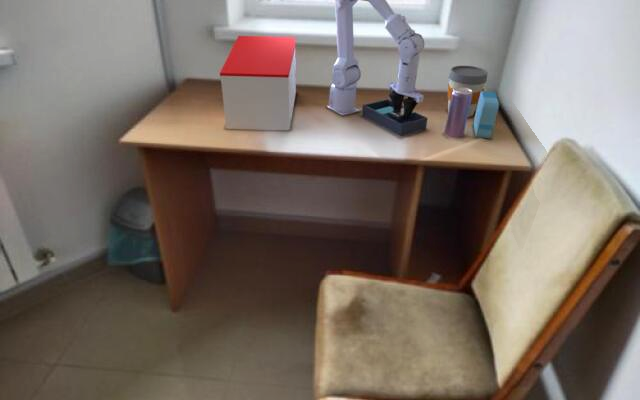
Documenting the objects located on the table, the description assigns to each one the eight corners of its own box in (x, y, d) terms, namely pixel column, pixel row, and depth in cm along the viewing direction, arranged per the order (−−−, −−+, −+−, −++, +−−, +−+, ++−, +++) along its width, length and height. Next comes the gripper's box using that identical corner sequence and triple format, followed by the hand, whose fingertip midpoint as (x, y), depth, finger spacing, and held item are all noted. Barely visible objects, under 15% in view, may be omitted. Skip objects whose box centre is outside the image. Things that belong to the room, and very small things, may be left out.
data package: (490, 140, 139) (499, 104, 133) (475, 138, 140) (484, 102, 133) (486, 125, 149) (495, 91, 142) (473, 123, 150) (481, 89, 143)
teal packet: (373, 117, 151) (374, 110, 150) (389, 113, 154) (389, 106, 153) (381, 122, 148) (382, 114, 147) (397, 117, 152) (398, 110, 150)
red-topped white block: (295, 92, 172) (295, 37, 160) (289, 130, 142) (288, 66, 131) (242, 91, 172) (238, 35, 160) (225, 128, 142) (218, 64, 131)
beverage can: (459, 140, 139) (469, 95, 130) (441, 136, 141) (450, 91, 133) (465, 134, 143) (475, 89, 134) (447, 129, 145) (456, 85, 137)
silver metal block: (389, 119, 145) (390, 111, 143) (404, 115, 148) (405, 107, 146) (397, 124, 142) (398, 116, 140) (413, 119, 145) (414, 111, 144)
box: (361, 116, 153) (362, 104, 151) (386, 110, 158) (387, 98, 156) (400, 137, 140) (402, 125, 137) (425, 130, 145) (427, 117, 142)
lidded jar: (457, 121, 151) (466, 78, 143) (435, 108, 161) (442, 67, 152) (486, 116, 156) (496, 74, 147) (463, 103, 165) (471, 63, 157)
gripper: (433, 80, 134) (426, 121, 141) (401, 67, 144) (396, 106, 151) (416, 84, 130) (410, 126, 138) (384, 70, 140) (380, 110, 148)
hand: (401, 116), depth 144 cm, fingers closed on silver metal block, 4 cm apart
